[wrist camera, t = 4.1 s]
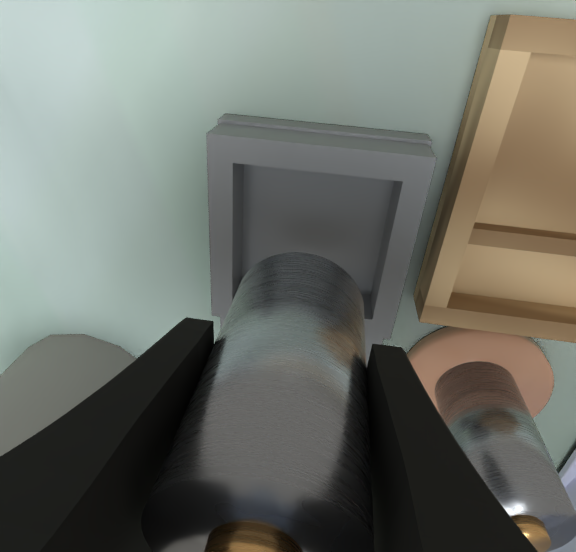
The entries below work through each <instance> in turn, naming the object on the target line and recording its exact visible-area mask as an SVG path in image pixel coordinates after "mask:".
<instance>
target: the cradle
mask: <svg viewBox="0 0 576 552" xmlns="http://www.w3.org/2000/svg"><path fill="white" fill-rule="evenodd" d="M431 144H432V140H431V139H430V138H429V136H428V135H427V134H420V133H410V132H400V131H390V130H380V129H370V128H361V127H351V126H341V125H331V124H321V123H311V122H302V121H292V120H282V119H272V118H262V117H252V116H243V115H233V114H224V115H223V116H221V117H220V118H219V119H218V125H217V126H216V127H214V128H213V129H212V130H210V131H209V132H208V133H207V168H208V202H209V237H210V272H211V307H212V316H219V317H221V327H222V325H223V323H224V320H225V318H226V316H227V313H228V311H229V309H230V306H231V304H232V301H233V299H234V297H235V294H236V292H237V290H238V287H239V285H240V283H241V281H242V279H243V277H244V276H245V274H246V273H247V272H248V271H249V270H250V269H251V268H252V267H253V266H254V265H256V264H257V263H259V262H260V261H262V260H264V259H266V258H268V257H270V256H274V255H277V254H282V253H289V252H302V253H309V254H314V255H318V256H321V257H324V258H326V259H328V260H331V261H332V262H334V263H336V264H337V265H339V266H340V267H341V268H343V269H344V270H345V271H346V272H347V273H348V274H349V275H350V276H351V277H352V278H353V279H354V281H355V282H356V284H357V285H358V287H359V289H360V292H361V294H362V297H363V302H364V321H365V344H366V367H367V365H368V360H369V356H370V352H371V347H372V344H380V345H382V342H383V339H388V340H390V338H391V334H392V330H393V326H394V323H395V319H396V315H397V311H398V307H399V303H400V299H401V295H402V292H403V288H404V284H405V280H406V276H407V272H408V268H409V264H410V261H411V257H412V253H413V249H414V245H415V241H416V237H417V233H418V230H419V226H420V222H421V218H422V214H423V210H424V206H425V202H426V199H427V195H428V191H429V187H430V183H431V179H432V175H433V171H434V168H435V164H436V160H437V157H436V155H435V154H434V152H433V151H432V149H431Z"/></svg>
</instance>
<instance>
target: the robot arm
mask: <svg viewBox="0 0 576 552" xmlns="http://www.w3.org/2000/svg"><path fill="white" fill-rule="evenodd" d="M213 346H214V330H213V321H207V320H200V319H193V318H185V319H183V320H182V321H181V322H180V323H178V324H177V325H176V326H175V327H174V328H173V329H171V330H170V331H169V332H168V333H167V334H166V335H164V336H163V337H162V338H161V339H160V340H159V341H157V342H156V343H155V344H154V345H153V346H152V347H150V348H149V349H148V350H147V351H146V352H144V353H143V354H142V355H141V356H140V357H138V358H137V359H136V360H135V361H134V362H132V363H131V364H130V365H129V366H127V367H126V368H125V369H124V370H122V371H121V372H120V373H119V374H117V375H116V376H115V377H114V378H113V379H111V380H110V381H109V382H107V383H106V384H105V385H104V386H102V387H101V388H100V389H98V390H97V391H96V392H94V393H93V394H91V395H90V396H89V397H87V398H86V399H85V400H83V401H82V402H81V403H79V404H78V405H77V406H75V407H74V408H72V409H71V410H70V411H68V412H67V413H66V414H64V415H63V416H61V417H60V418H58V419H57V420H56V421H54V422H53V423H51V424H50V425H48V426H47V427H45V428H44V429H42V430H41V431H39V432H38V433H36V434H35V435H33V436H32V437H30V438H29V439H27V440H25V441H24V442H22V443H21V444H19V445H18V446H16V447H15V448H13V449H11V450H10V451H8V452H7V453H5V454H3V455H2V456H0V552H153V551H152V549H151V548H150V547H149V546H148V544H147V542H146V540H145V538H144V536H143V532H142V529H141V516H142V512H143V510H144V508H145V505H146V503H147V500H148V498H149V496H150V493H151V491H152V489H153V486H154V484H155V482H156V479H157V477H158V475H159V472H160V470H161V468H162V465H163V463H164V461H165V458H166V456H167V454H168V451H169V449H170V447H171V444H172V442H173V440H174V437H175V435H176V433H177V430H178V428H179V426H180V423H181V421H182V419H183V416H184V414H185V412H186V409H187V407H188V405H189V402H190V400H191V397H192V395H193V393H194V390H195V388H196V386H197V383H198V381H199V379H200V376H201V374H202V372H203V369H204V367H205V365H206V362H207V360H208V358H209V355H210V353H211V351H212V348H213ZM367 390H368V413H369V436H370V460H371V483H372V506H373V529H374V552H538V551H537V550H536V548H535V547H534V546H533V545H532V543H531V542H530V541H529V540H528V538H527V537H526V536H525V535H524V533H523V532H522V531H521V530H520V528H519V527H518V526H517V525H516V523H515V522H514V521H513V520H512V518H511V517H510V516H509V514H508V513H507V512H506V510H505V509H504V508H503V506H502V505H501V504H500V502H499V501H498V500H497V498H496V497H495V496H494V494H493V493H492V492H491V490H490V489H489V487H488V486H487V485H486V483H485V482H484V480H483V479H482V478H481V476H480V475H479V473H478V472H477V470H476V469H475V468H474V466H473V465H472V463H471V462H470V460H469V459H468V457H467V456H466V454H465V453H464V451H463V450H462V448H461V447H460V445H459V444H458V442H457V441H456V439H455V438H454V436H453V434H452V433H451V431H450V430H449V428H448V426H447V425H446V423H445V422H444V420H443V419H442V417H441V415H440V414H439V412H438V410H437V409H436V407H435V405H434V404H433V402H432V400H431V399H430V397H429V395H428V393H427V392H426V390H425V388H424V386H423V385H422V383H421V381H420V379H419V377H418V375H417V374H416V372H415V370H414V368H413V366H412V364H411V362H410V360H409V358H408V357H407V355H406V353H405V351H404V350H403V349H402V348H401V347H394V346H387V345H380V344H372V347H371V352H370V356H369V360H368V365H367ZM558 475H559V477H560V479H561V481H562V483H563V485H564V488H565V490H566V492H567V494H568V496H569V498H570V501H571V503H572V505H573V507H574V509H575V511H576V449H575V450H574V452H573V453H572V455H571V456H570V458H569V459H568V461H567V462H566V464H565V465H564V466H563V468H562V469H561V471H560V472H559V474H558ZM548 552H576V536H575V537H574V538H573V539H572V540H571V541H570V542H569V543H567V544H565V545H564V546H562V547H560V548H557V549H555V550H552V551H548Z"/></svg>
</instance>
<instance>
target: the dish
mask: <svg viewBox="0 0 576 552" xmlns="http://www.w3.org/2000/svg"><path fill="white" fill-rule="evenodd" d="M407 357H408V358H409V360H410V362H411V364H412V366H413V368H414V370H415V372H416V374H417V375H418V377H419V379H420V381H421V383H422V385H423V386H424V388H425V390H426V392H427V393H428V395H429V397H430V399H431V400H432V402H433V404H434V405H435V407H436V409H437V410H438V406H437V401H436V397H435V386H436V383H437V381H438V380H439V378H440V377H441V376H442V375H443V374H444V373H445V372H446V371H448V370H449V369H451V368H453V367H455V366H457V365H460V364H463V363H467V362H475V361H483V362H490V363H494V364H497V365H500V366H502V367H503V368H505V369H506V370H508V371H509V372H510V373H511V374H512V376H513V377H514V379H515V382H516V384H517V386H518V388H519V390H520V392H521V395H522V397H523V399H524V401H525V403H526V405H527V408H528V410H529V412H530V414H531V416H532V418H534V417H535V416H536V415H537V414H538V413H539V412H540V411H541V410H542V409H543V408H544V407H545V405H546V404H547V402H548V401H549V399H550V396H551V394H552V391H553V387H554V376H553V371H552V368H551V366H550V364H549V362H548V361H547V359H546V357H545V355H544V354H543V352H542V350H541V349H540V347H539V346H538V345H537V343H536V342H535V341H534V340H533V339H531V338H530V337H527V336H520V335H512V334H505V333H497V332H490V331H482V330H475V329H467V328H460V327H452V326H448V327H445V328H442V329H440V330H437V331H435V332H433V333H431V334H429V335H428V336H426V337H424V338H423V339H422V340H420V341H419V342H418V343H417V344H415V345H414V346H413V347H412V348H411V350H410V351H409V352H408V353H407ZM438 412H439V410H438Z"/></svg>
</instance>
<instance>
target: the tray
mask: <svg viewBox="0 0 576 552" xmlns="http://www.w3.org/2000/svg"><path fill="white" fill-rule="evenodd" d="M413 297H414V301H415V305H416V310H417V314H418V318H419V322H422V323H429V324H437V325H444V326H452V327H460V328H467V329H475V330H482V331H490V332H497V333H505V334H512V335H520V336H527V337H535V338H542V339H550V340H558V341H565V342H573V343H576V20H572V19H560V18H548V17H535V16H523V15H493V16H491V17H490V21H489V24H488V28H487V31H486V35H485V39H484V42H483V46H482V50H481V53H480V57H479V60H478V64H477V68H476V71H475V75H474V79H473V82H472V86H471V89H470V93H469V97H468V100H467V104H466V107H465V111H464V115H463V118H462V122H461V126H460V129H459V133H458V136H457V140H456V144H455V147H454V151H453V154H452V158H451V162H450V165H449V169H448V173H447V176H446V180H445V183H444V187H443V191H442V194H441V198H440V202H439V205H438V209H437V212H436V216H435V220H434V223H433V227H432V230H431V234H430V238H429V241H428V245H427V249H426V252H425V256H424V259H423V263H422V267H421V270H420V274H419V277H418V281H417V285H416V288H415V292H414V296H413Z"/></svg>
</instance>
